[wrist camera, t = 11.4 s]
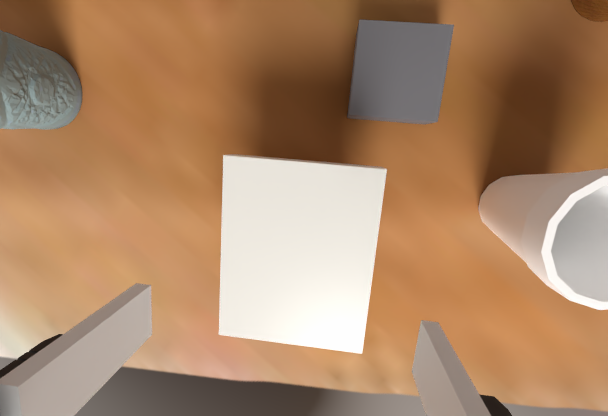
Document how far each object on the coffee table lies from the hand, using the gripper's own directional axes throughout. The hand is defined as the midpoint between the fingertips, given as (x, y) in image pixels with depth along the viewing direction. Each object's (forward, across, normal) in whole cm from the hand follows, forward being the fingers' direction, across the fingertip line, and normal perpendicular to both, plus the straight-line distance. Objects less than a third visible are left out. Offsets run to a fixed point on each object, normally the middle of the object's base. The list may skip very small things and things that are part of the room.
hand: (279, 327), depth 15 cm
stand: (+21, -7, -16) cm, 27 cm away
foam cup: (+21, -21, -4) cm, 30 cm away
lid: (+12, 0, 0) cm, 12 cm away
